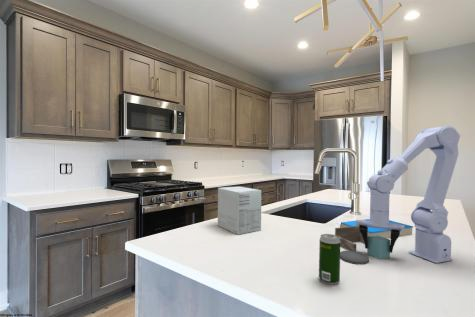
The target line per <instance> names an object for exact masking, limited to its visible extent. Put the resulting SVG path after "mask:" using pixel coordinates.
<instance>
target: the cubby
mask: <svg viewBox="0 0 475 317" xmlns="http://www.w3.org/2000/svg"><path fill="white" fill-rule="evenodd" d="M334 235H336V236H339V237H340V248H343V249H345V250H346V251H357V243H359V242H360V243H363V244H365V243H364V240H363V237H362V234H361V232H360V230H359V226H350V227H340V226H339V227H335V228H334ZM367 238H368V236H367Z"/></svg>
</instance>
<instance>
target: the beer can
mask: <svg viewBox="0 0 475 317" xmlns="http://www.w3.org/2000/svg"><path fill="white" fill-rule="evenodd" d="M318 247H319V248H318V249H319V253H318V258H319V259H318V278H319V281H320V282H322V283H323V284H324V285H330V286H337V285H338V284H339V282H340V280H341V278H340V277H341V259H340V252H341V246H340V237H339V236H336V235H335V234H331V233H330V234H329V233H324V234H321V235H320V237H319V246H318Z"/></svg>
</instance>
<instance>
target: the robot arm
mask: <svg viewBox="0 0 475 317" xmlns="http://www.w3.org/2000/svg"><path fill="white" fill-rule="evenodd" d="M460 138H461V135H460V133H459V132H458V131H457V129H456V128H455V127H454V126H452V125H444V126H436V127H426V128H423V129H422V130H421V132H419V133H418V134H417V135H416V137H415V139H414V140H413V141H412V142H411V143H410V145H409V146H408V147H407V148H406V149H405V150H404V151H403V152H402V153H401V154H400V155H399V157H393V158H392V159H390V158H389V159H388V160H387V161H386V162H387V163H386V164H385V165H384V166H383V167H382V168H381V169H379V170H378V171H377V173H375V174H373V175H371V176H370V177H369V178H368V181H367V182H366V185H367V188H368V189H369V192H370V194H369V195H370V199H369V200H370V202H369V204H370V205H369V219H370V220H365V219H355V221H356V226H359V230H360V232H361V234H362V237H363V240H364V243H363V244H364V249H366V250H367V248H368V238H367V236H368V227H371V228H378V229H386V230H391V238H390V253H391V254H392V253H393V249H394V246H395V245H396V241H397V240H398V238H400V236H399V235H400V232H404V225H399V224H393V223H389V220H390V192H391V191H393V189H394V188H395V183H396V182H397V181H398V179H400V178H401V176H402V175H404V173H406V172H407V171H408V169H409V168H408V164H410V163H411V162H412V161H413V160H414V159H416V157H418V156H419V155H420V154H422V152H424V151H426V150H427V149H429V150H430V151H432V153H434V155H435V156H436V158H435V161H434V165H433V168H432V171H431V173H430V174H431V175H430V178H429V180H428V183H427V187H426V191H425V194H424V197H423V200H421V201H419V202H418V203H416V206H415V208H414V209H413V210H412V212H411V214H410V219H411V222H412V223H413V224H414V228H415V236H414V238H415V239H414V240H415V241H414V250H410V251H408V254H411V255H413V256H416V257H419V258H422V259H425V260H426V261H429V262H432V263H434V264H439V263H445V262H450V261H453V258H452V239H451V237H450V236H449V235H447V234H444V231H445V230H446V229H447V227H448V225H449V221H448V215H449V211H448V210H447V208H446V207H445V205H444V203H445V200H446V197H447V193H448V190H449V187H450V184H451V180H452V177H453V174H454V170H455V167H456V163H457V162H458V161H457V160H458V157H459V146H458V144H459V141H460Z"/></svg>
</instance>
